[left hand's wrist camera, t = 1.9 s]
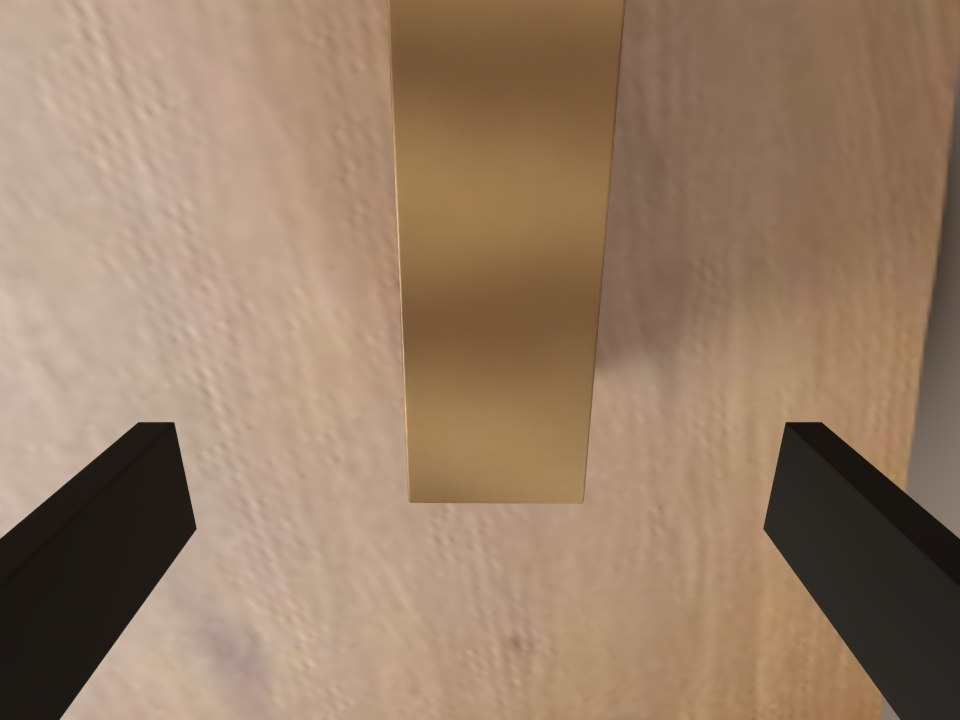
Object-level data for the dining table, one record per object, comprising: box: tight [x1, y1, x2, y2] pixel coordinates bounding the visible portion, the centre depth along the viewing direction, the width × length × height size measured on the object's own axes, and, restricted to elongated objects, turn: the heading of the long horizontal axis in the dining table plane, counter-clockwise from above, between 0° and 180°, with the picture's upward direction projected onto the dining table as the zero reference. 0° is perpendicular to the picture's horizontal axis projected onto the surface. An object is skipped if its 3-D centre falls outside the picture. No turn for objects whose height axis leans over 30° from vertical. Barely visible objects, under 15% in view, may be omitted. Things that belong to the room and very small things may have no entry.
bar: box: [387, 0, 626, 504], centre depth 19 cm, size 21×6×9 cm, turn 0°
